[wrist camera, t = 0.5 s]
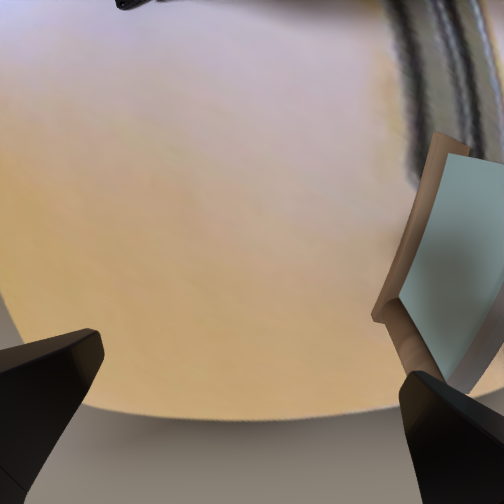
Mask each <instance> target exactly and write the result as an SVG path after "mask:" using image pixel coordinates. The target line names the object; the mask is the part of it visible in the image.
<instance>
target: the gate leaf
mask: <svg viewBox="0 0 504 504" xmlns="http://www.w3.org/2000/svg"><path fill="white" fill-rule="evenodd" d="M399 298H400V300H401V301H402V303H403V304H404V306H405V308H406V310H407V311H408V313H409V315H410V316H411V318H412V320H413V321H414V323H415V325H416V327H417V328H418V330H419V332H420V334H421V336H422V337H423V339H424V341H425V343H426V345H427V346H428V348H429V350H430V352H431V354H432V356H433V358H434V359H435V361H436V363H437V365H438V367H439V369H440V371H441V373H442V375H443V377H444V379H445V381H446V383H447V385H449V386H451V387H453V388H454V389H456V390H458V391H460V392H461V393H463V394H469V393H470V391H471V390H472V389H473V387H474V386H475V385H476V383H477V382H478V381H479V379H480V378H481V376H482V375H483V373H484V372H485V370H486V369H487V368H488V366H489V365H490V363H491V361H492V360H493V358H494V357H495V355H496V354H497V352H498V351H499V349H500V347H501V346H502V344H503V342H504V165H502V164H498V163H494V162H490V161H485V160H481V159H476V158H471V157H466V156H461V155H456V154H451V153H448V157H447V160H446V164H445V168H444V172H443V175H442V179H441V182H440V186H439V189H438V192H437V196H436V199H435V202H434V205H433V208H432V211H431V214H430V217H429V220H428V223H427V226H426V229H425V232H424V234H423V237H422V240H421V242H420V245H419V248H418V250H417V253H416V256H415V258H414V261H413V263H412V266H411V268H410V270H409V273H408V275H407V278H406V280H405V282H404V285H403V287H402V289H401V291H400V294H399Z"/></svg>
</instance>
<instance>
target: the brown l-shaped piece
mask: <svg viewBox="0 0 504 504" xmlns="http://www.w3.org/2000/svg"><path fill="white" fill-rule="evenodd" d="M469 151H470V147H468V146H466V145H464V144H462V143H460V142H459V141H457V140H454V139H452V138H450V137H448V136H446V135H444V134H442V133H439V132H433V135H432V140H431V144H430V148H429V152H428V156H427V159H426V163H425V167H424V170H423V174H422V178H421V181H420V184H419V188H418V191H417V194H416V198H415V201H414V204H413V207H412V210H411V213H410V216H409V219H408V222H407V225H406V228H405V231H404V234H403V236H402V239H401V242H400V245H399V247H398V250H397V253H396V255H395V258H394V260H393V263H392V266H391V268H390V271H389V273H388V276H387V278H386V280H385V283H384V285H383V288H382V290H381V292H380V295H379V297H378V299H377V302H376V304H375V306H374V308H373V311H372V313H371V316H372V319H373V321H374V322H377V323H382V324H385V325H386V328H387V330H388V332H389V335H390V337H391V339H392V341H393V344H394V346H395V348H396V351H397V353H398V356H399V358H400V360H401V363H402V365H403V368H404V370H405V373H406V375H408V374H409V372H410V371H413V370H422V371H425V372H426V373H428V374H430V375H432V376H433V377H435V378H437V379H439V380H440V381H442V382H444V383H446V381H445V379H444V377H443V375H442V373H441V371H440V369H439V367H438V365H437V363H436V361H435V359H434V358H433V356H432V354H431V352H430V350H429V348H428V346H427V345H426V343H425V341H424V339H423V337H422V336H421V334H420V332H419V330H418V328H417V327H416V325H415V323H414V321H413V320H412V318H411V316H410V315H409V313H408V311H407V310H406V308H405V306H404V304H403V303H402V301H401V300H400V298H399V294H400V291H401V289H402V287H403V285H404V282H405V280H406V278H407V275H408V273H409V270H410V268H411V266H412V263H413V261H414V258H415V256H416V253H417V250H418V248H419V245H420V242H421V240H422V237H423V234H424V232H425V229H426V226H427V223H428V220H429V217H430V214H431V211H432V208H433V205H434V202H435V199H436V196H437V192H438V189H439V186H440V182H441V179H442V175H443V172H444V168H445V164H446V160H447V157H448V153H451V154H456V155H461V156H466V157H468V155H469ZM446 384H447V383H446Z"/></svg>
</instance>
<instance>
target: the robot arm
mask: <svg viewBox="0 0 504 504" xmlns="http://www.w3.org/2000/svg"><path fill="white" fill-rule="evenodd" d="M141 1H145V0H115V2H116V6H117V8H119V9H120V10H126V9H128V8H130V7H132V6H133V5H135V4H137V3H139V2H141ZM124 2H126V3H125V4H124V5H123V6H122V4H123V3H124ZM103 360H104V348H103V344H102V339H101V335H100V333H99V332H98V331H97V330H93V329H89V328H85V329H82V330H78V331H74V332H70V333H66V334H63V335H59V336H55V337H51V338H47V339H43V340H39V341H35V342H31V343H27V344H24V345H19V346H15V347H11V348H7V349H3V350H0V504H24V501H25V498H26V495H27V492H29V490H30V488H31V486H32V484H33V483H34V481H35V479H36V477H37V475H38V473H39V472H40V470H41V468H42V467H43V465H44V463H45V461H46V460H47V458H48V456H49V455H50V453H51V451H52V450H53V448H54V446H55V444H56V443H57V441H58V440H59V438H60V436H61V435H62V433H63V431H64V430H65V428H66V426H67V425H68V423H69V422H70V420H71V418H72V417H73V415H74V413H75V412H76V410H77V409H78V407H79V405H80V404H81V403H82V401H83V399H84V398H85V396H86V394H87V393H88V391H89V389H90V387H91V385H92V382H93V380H94V378H95V376H96V374H97V372H98V370H99V368H100V366H101V364H102V362H103ZM399 403H400V408H401V414H402V419H403V425H404V431H405V436H406V440H407V444H408V447H409V451H410V454H411V458H412V461H413V465H414V469H415V473H416V477H417V481H418V485H419V489H420V494H421V498H422V502H423V504H504V416H502V415H500V414H499V413H497V412H495V411H493V410H492V409H490V408H488V407H486V406H484V405H483V404H481V403H479V402H477V401H475V400H474V399H472V398H470V397H468V396H467V395H465V394H463V393H461V392H460V391H458V390H456V389H454V388H453V387H451V386H449V385H447V384H446V383H444V382H442V381H440V380H439V379H437V378H435V377H433V376H432V375H430V374H428V373H426V372H425V371H422V370H413V371H410V372H409V374H408V375H407V377H406V379H405V381H404V383H403V385H402V387H401V388H400V391H399Z"/></svg>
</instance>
